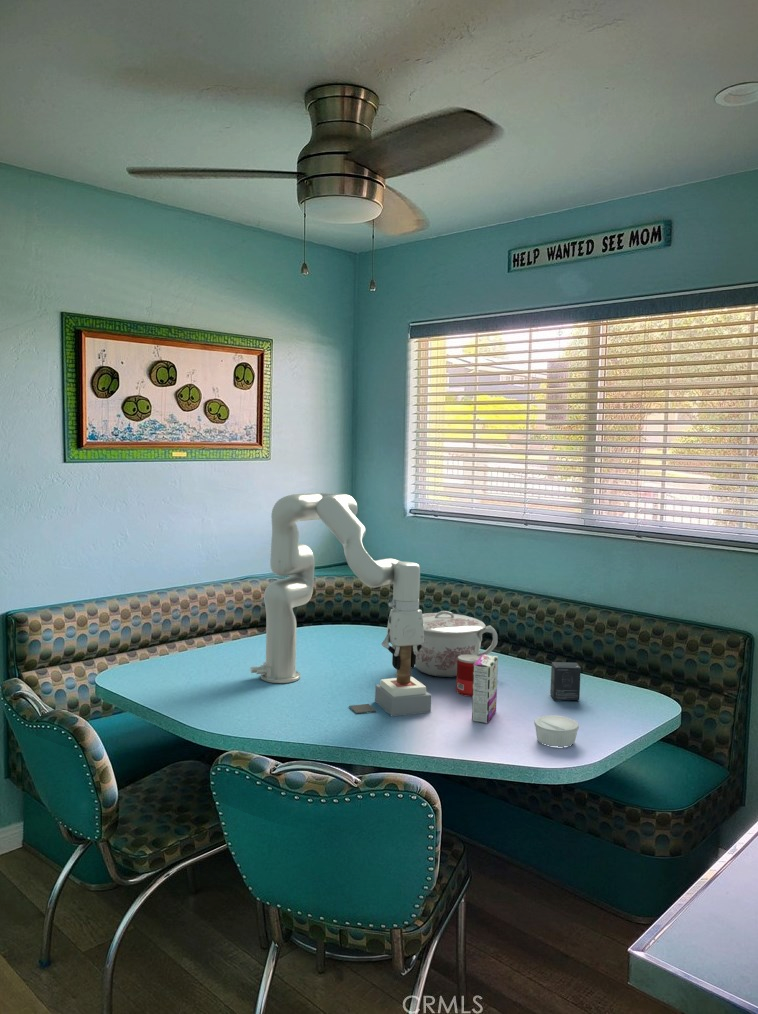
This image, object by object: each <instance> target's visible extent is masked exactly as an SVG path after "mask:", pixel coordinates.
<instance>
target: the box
mask: <svg viewBox="0 0 758 1014" xmlns="http://www.w3.org/2000/svg"><path fill="white" fill-rule="evenodd" d="M550 671H551V672H550V673H551V675H550V692H549V693H550V694H551V695H550V696H551V698H552V697H553V698H552V699H554V700H553V701H559V700H579V701H580V696H581V695H580V693H581V692H580V691H581V690H580V689H581V674H582V673H581V672H582V671H581V666H580V665H579V664H578V663H577V662H562V661H561V662H560V661H559V662H558V661H557V662H556V661H552V662H551V669H550Z"/></svg>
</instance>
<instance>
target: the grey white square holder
mask: <svg viewBox="0 0 758 1014" xmlns="http://www.w3.org/2000/svg"><path fill="white" fill-rule="evenodd" d="M396 680H397V677H391V678H383V679H380V684H375V685H374V686H375V690H374V691H375V692H374V694H375V695H374V702H375V701H376V702H377V703H378V706H380V707H381V708H382V709H383V710H384V711H385V710H386V711H387V712H386V711H385V712H386V713H388V714H389V715H390V716H391V715H392V716H391V717H397V716H396V715H399V716H405V715H404V714H408V715H414V714H415V713H418V714H424V713H425V714H426V713H432V711H431V709H432V694H431V693H429V692H428V691H427V686H426V685H424V684H423V683H422V682H421V681H419V680H417V679H416V678H415V677H413V676H410V683H411V686H404V687H397V686H396V685H395V682H396ZM376 702H375V703H376ZM415 715H416V714H415Z"/></svg>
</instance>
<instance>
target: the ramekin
mask: <svg viewBox="0 0 758 1014" xmlns="http://www.w3.org/2000/svg"><path fill="white" fill-rule="evenodd" d="M534 727H535V733H536V739H537V741H538V742H539V743H540V742H541V743H543V744H546V745H549V746H558V747H564V746H570V745H572V744H573V745H574V744H575V743H576V738H577V734H578V730H579V727H580V726H579V723H578V722H577V721H576V720H574V719H573V718H572V719H571V718H570V717H567V716H563V715H555V714H554V715H548V714H547V715H542V716H538V717H536V718H535V719H534ZM541 743H540V744H541ZM543 744H542V745H543ZM573 745H572V746H573Z"/></svg>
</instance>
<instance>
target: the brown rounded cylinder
mask: <svg viewBox="0 0 758 1014" xmlns="http://www.w3.org/2000/svg"><path fill="white" fill-rule="evenodd" d="M411 647H412V646H400V649H399V656H400V669H399V670H397V669H396V678H397V680H396V682H397V683H400V684H408V683H410V677H412V676H411V675H412V673H411V671H412V668H411Z"/></svg>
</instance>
